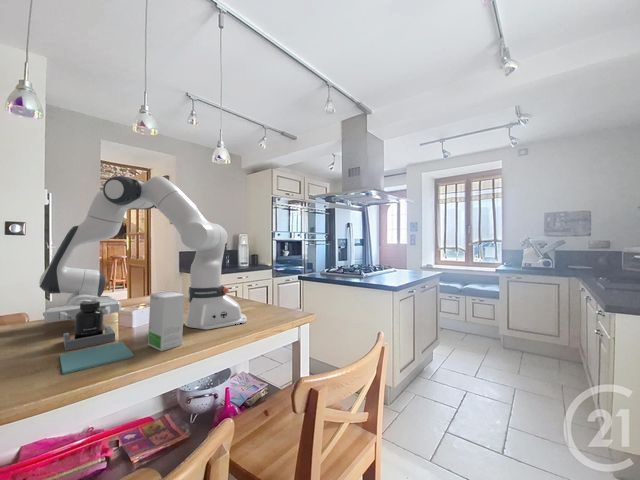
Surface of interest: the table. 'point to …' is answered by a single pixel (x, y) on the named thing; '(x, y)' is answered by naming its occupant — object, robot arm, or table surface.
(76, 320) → the supplement bottle
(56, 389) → the table surface
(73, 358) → the mat
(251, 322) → the table surface
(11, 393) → the table surface
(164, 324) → the skincare box
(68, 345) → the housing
